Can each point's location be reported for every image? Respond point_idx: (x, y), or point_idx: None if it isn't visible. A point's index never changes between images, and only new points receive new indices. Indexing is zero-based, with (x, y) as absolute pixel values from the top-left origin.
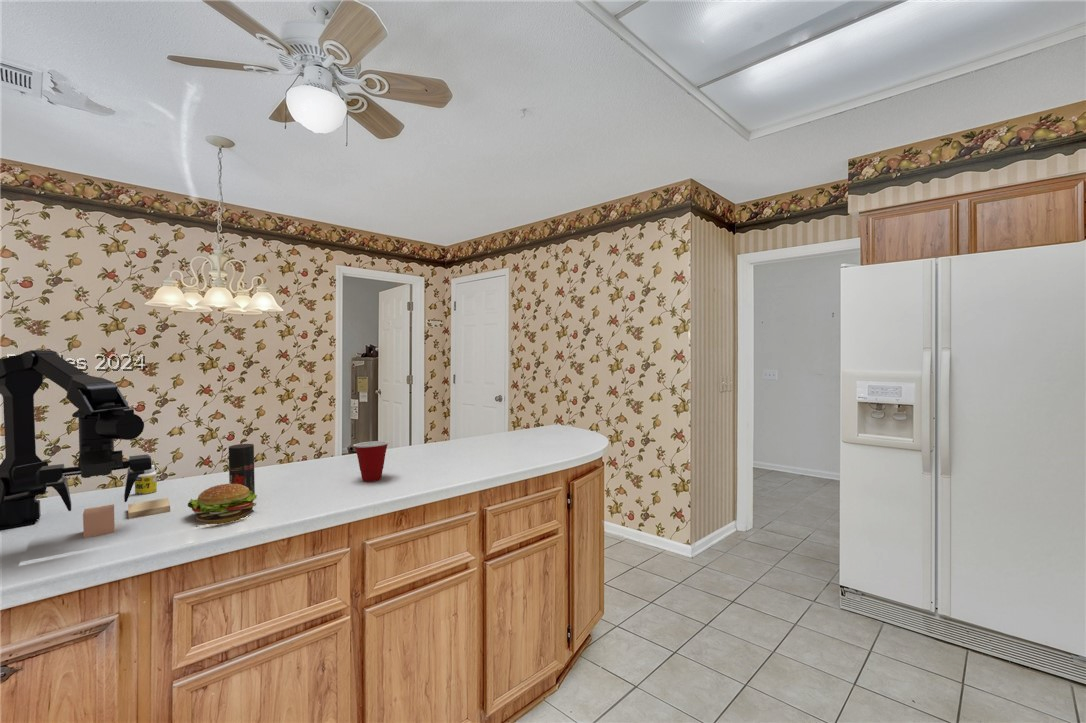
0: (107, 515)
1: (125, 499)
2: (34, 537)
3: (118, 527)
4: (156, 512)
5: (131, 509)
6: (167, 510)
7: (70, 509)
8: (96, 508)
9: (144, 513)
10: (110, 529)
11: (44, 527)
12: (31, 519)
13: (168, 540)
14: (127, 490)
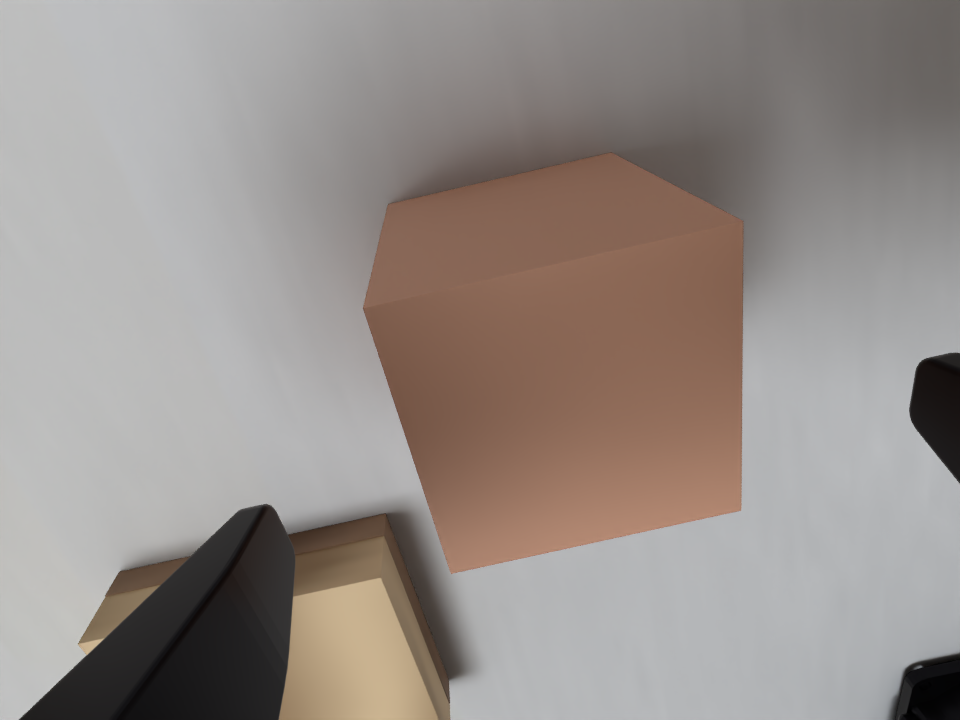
0: (441, 264)
1: (239, 527)
2: (922, 446)
3: None
4: None
5: (388, 650)
6: (119, 602)
7: (947, 358)
8: (612, 473)
9: None
10: (415, 215)
11: (865, 606)
12: (935, 709)
13: None
14: (114, 674)
